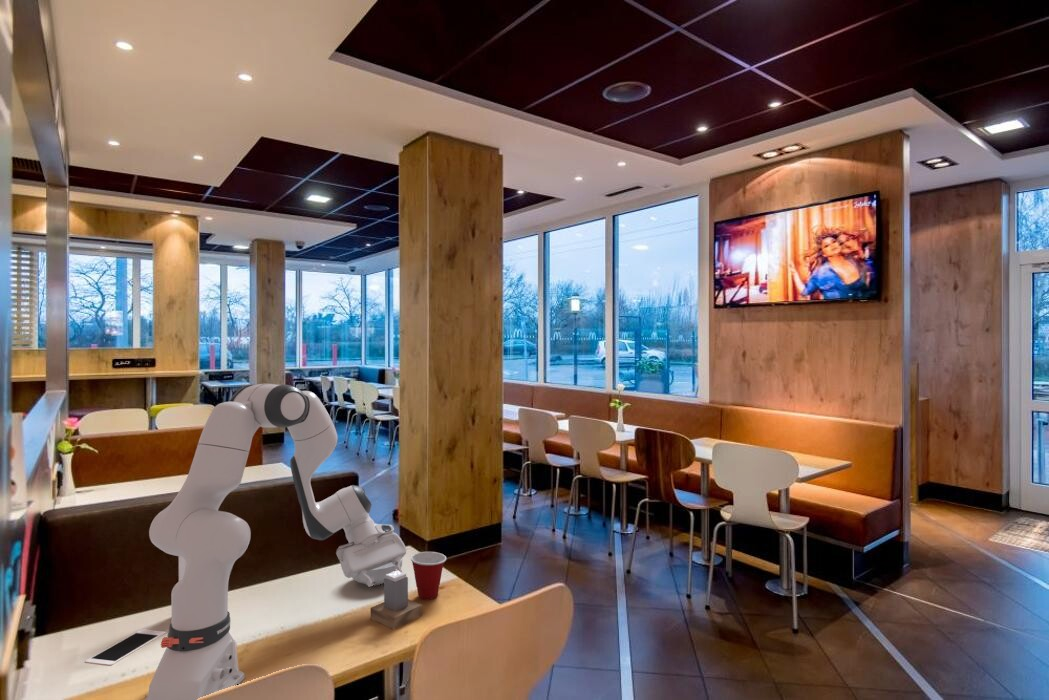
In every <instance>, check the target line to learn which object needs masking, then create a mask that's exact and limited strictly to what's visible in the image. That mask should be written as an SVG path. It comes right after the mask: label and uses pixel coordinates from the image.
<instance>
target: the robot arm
mask: <svg viewBox="0 0 1049 700" xmlns="http://www.w3.org/2000/svg"><path fill="white" fill-rule="evenodd" d="M259 428H266V429H271V428H274V429H275V428H280V429H281V428H282V429H284V428H285V429H286V428H287V430H288V432H289V434H290V437H291V439H292V440H293V444H294V454H293V456H292V457H291V458H290V461H289V462H290V463H289V464H290V471H291V476H292V480H293V484H294V487H295V491H296V494H297V495H296V496H297V498H298V502H299V505H300V510H301V513H302V523H303V529H305V532H306V534H307V535H308V536H309V537H310V538H311V539H313V540H318V541H324V540H326V539H328V538H329V537H331V536H333V535H334V534H335V533H337V532H339V531H340V530H341V529H343V530H344V533H345V538H346V540H347V541H348V543H346V544H342V545H339V546H338V548H337V549H336V552H335V554H336V557H337V559H338V560H339V563H340V566H341V569H342V573H343V575H344V576H345V577H346V578H348V579H351V578H352V577H354V576H356V575H359V577H360V579H362V580H363V581H365V582H366V583H367V585H366V586H367V587H369V588H370V587H374V586H373V585H374V584H375V580H374V578H373V577H371V578H370V577H369V576H368V575H367V574H366V573H367V571H370V570H372V569H375V568H378V567H381V566H383V565H386V564H389V563H391V562H392V564H393V565H395V570H394V571H400V572H403V570H402V567H401V568H400V559H402V560H403V558H404V557H405V556H406V554H407V551H408V550H407V546H406V545H405V543H404V541H403V540H402V538H401V537H400V536H399V534H397V532H394V531H395V528H394V525H392V524H380V523H375V521H374V519H373V518H372V517H370V513H371V512H370V511H371V508H372V505H373V504H372V502H371V501H370V500H369V498H368V496H367V494H366V492H365V490H364V489H365V488H363V487H361V486H359V485H354V484H352V485H350V486H347V487H343V488H341V489H339V490H338V491H336V492H335V493H333V494H332V495H331V496H328V497H327V498H325V499H323V500H321V501H317V502H316V500H315V496H314V492H313V488H312V484H311V480H312V477H313V475H314V473H316V471H317V470H318V469H319V468H320V467H321V465H322V464H323V463H325V461H326V460H328V458H329V457H330V456H331V455H332V454H333V452H334V451H335V448H336V446H337V443H338V438H339V437H338V433H337V430H336V427H335V424H334V422H333V419H332V418H331V416H330V414H329V413H328V411H327V409H326V407H325V406H324V404H323V402H322V401H321V400H320V398H319V397H318V396H317V394H315V393H314V392H312V391H310V390H301V389H299V388H298V387H296V386H293V385H289V384H274V383H270V382H269V383H259V384H249V385H245V386H242V387H241V388H239V389H237V391H235V392H234V393H233V395H232V396H231V398H230V399H229V401H225V402H224V401H223V402H221V403H217V404H216V405H215V406H214V407H213V409H211V412H210V414H209V416H208V418H207V420H206V422H205V424H204V427H203V428H202V431H201V434H200V437H199V440H198V443H197V446H196V449H195V453H194V456H193V459H192V462H191V465H190V468H189V470H188V471H189V472H188V474H187V476H186V478H185V481H184V483H183V484H182V486H181V488H180V489H179V492H178V493H177V495H176V496H175V498H173V500H172V501H171V503H170V504H169V505H168V506H166V507H165V508H164V509H163V510H161V511H160V512H158V514H156V515H155V516H154V518H153V520H152V522H151V524H150V527H149V530H148V533H149V534H148V536H149V540H150V542H151V543H152V544H153V545H154V547H156V548H158V549H159V550H161V551H163V552H164V553H165V554H168V555H172V556H176V557H179V556H180V557H184V558H185V560H186V569H185V573H184V576H183V579H181V580H180V581H179V580H178V582H177V583H176V584H174V586H173V588H172V590H171V595H170V596H171V598H170V599H171V600H170V601H171V606H170V607H171V622H170V624H169V628H168V631H167V635H166V637H165V636H164V637H163V638H161V641H160V648H163V649H164V648H166V649H165V651H164V653H163V655H162V657H161V658H160V661H159V663H158V666H157V667H156V670H155V672H154V674H153V676H152V679H151V681H150V683H149V685H148V686H149V687H148V693H147V695H146V697H145V698H144V700H197V699H198V698H200V697H203V696H206V695H209V694H211V693H214V692H217V691H219V690H222V689H225V688H228V687H231V686H234V685H237V684H238V685H239V684H240V683H242V682H243V681H244V680H245V678H246V677H245V673H244V672H243V671H242V670H240V669H239V661H238V657H239V656H238V649H237V642H236V641H235V639H234V638H233V637H232V635H231V633H230V629H231V616H230V615H231V614H230V611H229V610H228V609H229V606H228V605H229V602H228V600H229V599H228V597H229V579H230V575H231V573H232V570H233V568H234V567H233V566H234V564H235V562H236V561H237V560H238V559H239V558H241V557H242V556H243V555H244V554H245V552H246V550H247V549H248V546H249V544H250V541H251V534H252V533H251V532H252V531H251V528H250V526H249V524H248V522H247V521H246V520H244V519H243V518H241V517H239V516H237V515H236V514H233V513H231V512H227V511H222V510H219V509H220V508H221V507H220V506H221V504H222V503H223V502H224V500H225V498H226V497H227V496H228V495H229V494H230V493H231V492H233V491H235V490H236V489H237V488H238V487H239V486H240V485H241V483H242V480H243V477H244V472H245V469H246V465H247V461H248V457H249V455H250V450H251V446H252V440H253V437H254V436H255V433H256V432H257V431H258V429H259ZM394 571H393V572H394ZM238 685H237V686H238Z"/></svg>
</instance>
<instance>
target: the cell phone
mask: <svg viewBox="0 0 1049 700" xmlns="http://www.w3.org/2000/svg"><path fill="white" fill-rule="evenodd" d="M165 634H166V631H161V630H154V629H153V630H152V629H145V628H144V629H139V630H138V631H136V632H134V633H132V634H130V635H129V636H127V637H125V638H124V639H121V640H119V641H118V642H116V643H115V644H113V645H111V646H109V647H107V648H106V649H104V650H102V651H100V652H99V653H96V654H95V655H93V656H91V657H90V658H88V659H86V660H85V661H84V662H85V663H86V664H92V665H93V664H96V665H103V666H113V665H114V664H116V663H118V662H120V661H122V660H123V659H125V658H126V657H128V656H130V655H131V654H133V653H135V652H136V651H138V650H140V649H141V648H143V647H145V646H146V645H148V644H150V643H151V642H153V641H154V640H155V641H156V640H157V639H158V638H159V637H161V636H163V635H165Z"/></svg>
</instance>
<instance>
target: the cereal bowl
mask: <svg viewBox="0 0 1049 700" xmlns="http://www.w3.org/2000/svg"><path fill="white" fill-rule="evenodd" d="M402 566H403V558H402V559H400V568H401V569H402V568H403V567H402ZM394 570H395V565H393V564H392V562H391V563H389V564H386V565H383V566H381V567H378V568H375V569H372V570H370V571H367V573H366V574H367V575H368V576H369V577H370V578H371V577H373V578H374V580H375V584H374V585H377V586H381V585H384V584H383V583H384V578H386V574H389V573H392V572H393V571H394ZM351 578H352V579H353V580H354V581H356V582H357V583H360V584H364V585H365V586H368V585H367V583H366V582H365V581H363V580H362V579H360V577H359V575H356V576H354V577H351ZM380 584H381V585H380Z"/></svg>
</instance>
